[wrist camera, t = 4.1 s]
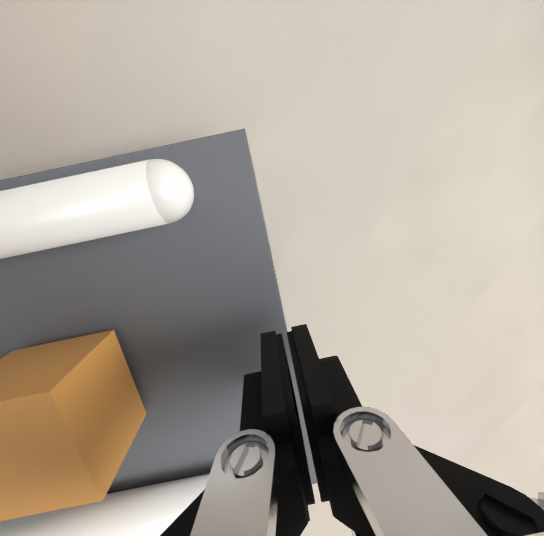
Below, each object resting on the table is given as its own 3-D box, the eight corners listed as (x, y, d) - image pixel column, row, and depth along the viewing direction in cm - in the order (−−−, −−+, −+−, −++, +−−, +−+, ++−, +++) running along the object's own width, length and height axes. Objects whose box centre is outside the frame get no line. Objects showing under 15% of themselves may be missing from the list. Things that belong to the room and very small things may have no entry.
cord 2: (267, 450, 13) (269, 495, 11) (276, 483, 14) (279, 530, 12) (-109, 526, 13) (-171, 582, 11) (-86, 555, 14) (-141, 613, 12)
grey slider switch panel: (250, 151, 15) (244, 128, 10) (300, 396, 20) (318, 484, 14) (-144, 235, 16) (-388, 262, 10) (-10, 459, 20) (-123, 572, 14)
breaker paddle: (113, 329, 11) (49, 391, 8) (146, 413, 12) (102, 500, 9) (12, 350, 11) (-95, 421, 8) (54, 432, 12) (-26, 526, 9)
